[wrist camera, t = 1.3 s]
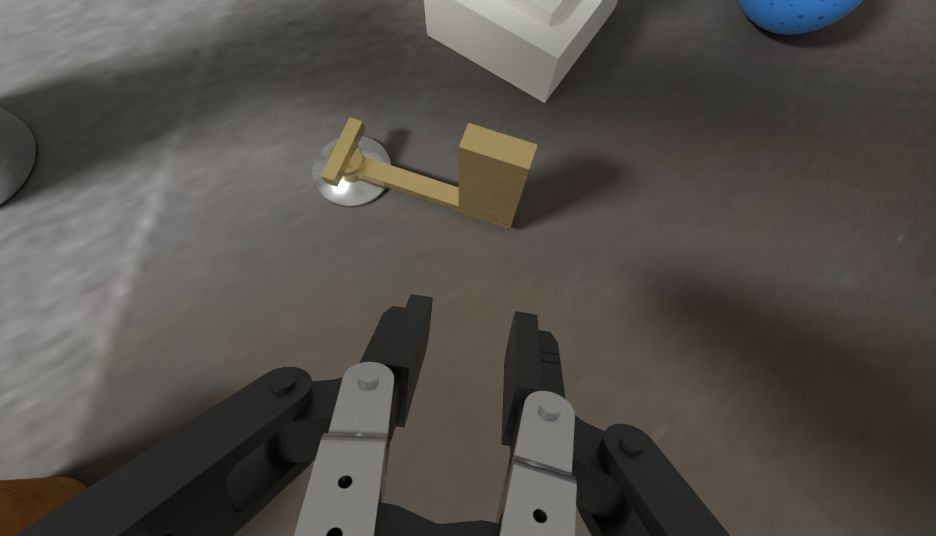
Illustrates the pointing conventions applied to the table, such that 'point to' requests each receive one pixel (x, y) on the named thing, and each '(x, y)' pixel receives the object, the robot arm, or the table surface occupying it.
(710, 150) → the table surface
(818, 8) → the cell model
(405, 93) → the table surface
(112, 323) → the table surface
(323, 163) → the key socket
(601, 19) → the housing
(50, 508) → the disposable coffee cup
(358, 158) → the key lever
